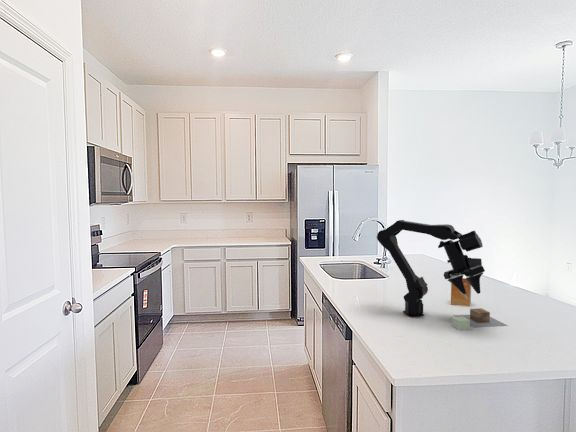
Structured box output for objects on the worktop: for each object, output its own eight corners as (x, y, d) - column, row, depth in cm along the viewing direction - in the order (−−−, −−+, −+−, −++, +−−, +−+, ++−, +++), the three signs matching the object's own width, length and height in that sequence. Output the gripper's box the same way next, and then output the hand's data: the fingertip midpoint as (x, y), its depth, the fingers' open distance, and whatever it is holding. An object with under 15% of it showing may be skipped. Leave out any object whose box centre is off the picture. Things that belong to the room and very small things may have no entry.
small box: (450, 304, 170) (451, 276, 169) (452, 301, 175) (452, 274, 174) (470, 307, 166) (470, 278, 165) (471, 303, 171) (471, 275, 170)
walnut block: (477, 322, 145) (478, 312, 145) (469, 318, 150) (470, 308, 150) (489, 322, 146) (489, 312, 145) (481, 317, 150) (481, 308, 150)
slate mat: (474, 328, 140) (474, 327, 140) (453, 316, 154) (453, 315, 154) (508, 326, 142) (508, 325, 142) (484, 314, 156) (484, 313, 156)
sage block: (458, 331, 138) (458, 320, 137) (451, 327, 142) (451, 316, 142) (469, 330, 138) (470, 320, 138) (462, 326, 143) (462, 316, 142)
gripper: (488, 245, 137) (505, 286, 135) (459, 252, 156) (474, 287, 153) (462, 254, 135) (479, 295, 133) (436, 260, 154) (451, 296, 151)
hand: (471, 293), depth 142 cm, fingers open, 9 cm apart
